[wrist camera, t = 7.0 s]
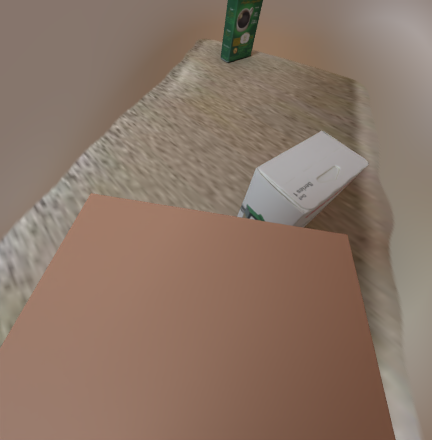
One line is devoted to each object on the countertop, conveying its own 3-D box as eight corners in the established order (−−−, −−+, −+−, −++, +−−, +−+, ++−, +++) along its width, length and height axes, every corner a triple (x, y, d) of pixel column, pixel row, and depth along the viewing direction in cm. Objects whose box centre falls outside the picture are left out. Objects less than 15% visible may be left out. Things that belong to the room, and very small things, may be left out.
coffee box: (243, 51, 51) (258, -31, 40) (251, 56, 50) (270, -26, 39) (219, 58, 48) (229, -30, 36) (228, 63, 47) (240, -25, 35)
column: (227, 406, 12) (508, 912, 1) (145, 394, 12) (-267, 802, 1) (234, 316, 15) (347, 235, 4) (167, 305, 15) (91, 192, 4)
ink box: (274, 203, 28) (324, 124, 18) (302, 230, 26) (375, 160, 16) (226, 237, 24) (253, 163, 14) (255, 270, 23) (309, 214, 13)
